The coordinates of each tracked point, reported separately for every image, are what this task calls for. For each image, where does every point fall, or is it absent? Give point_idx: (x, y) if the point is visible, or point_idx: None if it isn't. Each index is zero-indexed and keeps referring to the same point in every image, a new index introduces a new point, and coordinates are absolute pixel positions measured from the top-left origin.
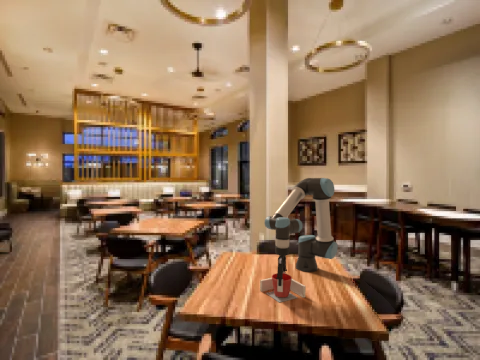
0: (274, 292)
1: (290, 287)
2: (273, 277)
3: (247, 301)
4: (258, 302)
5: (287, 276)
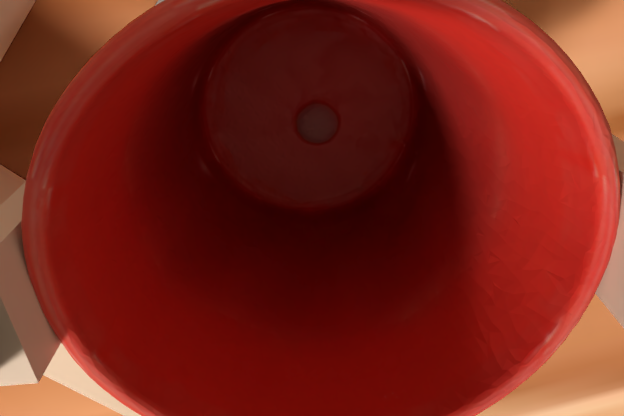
0: (377, 215)
1: (4, 22)
2: (295, 399)
3: (590, 394)
4: (593, 304)
5: (90, 140)
